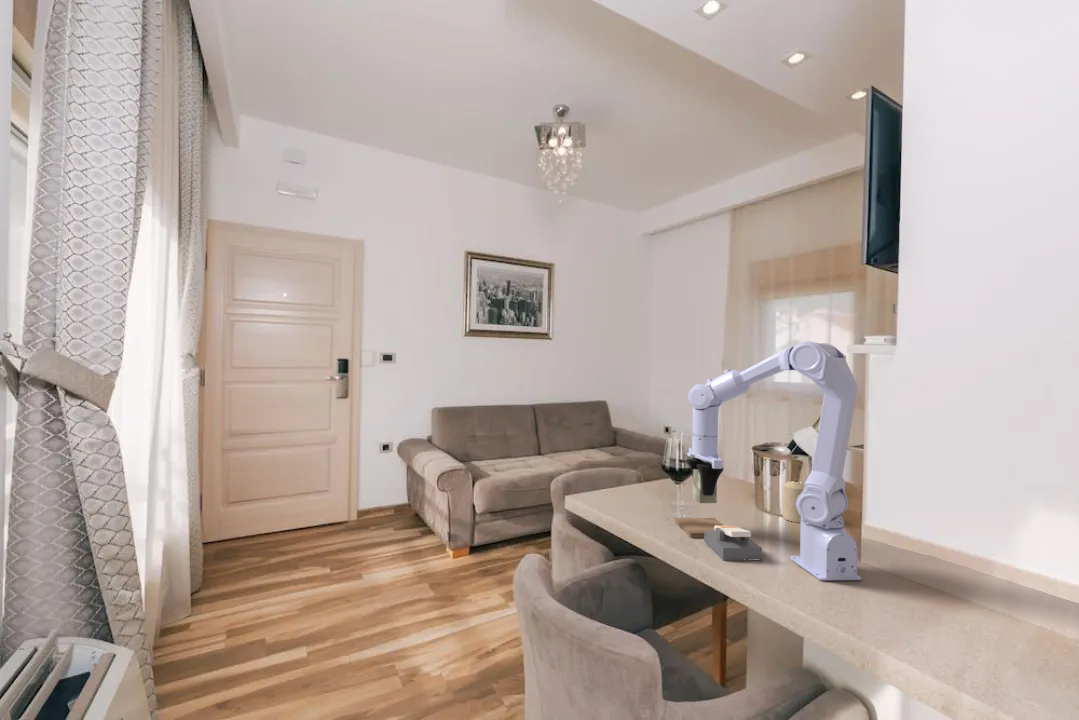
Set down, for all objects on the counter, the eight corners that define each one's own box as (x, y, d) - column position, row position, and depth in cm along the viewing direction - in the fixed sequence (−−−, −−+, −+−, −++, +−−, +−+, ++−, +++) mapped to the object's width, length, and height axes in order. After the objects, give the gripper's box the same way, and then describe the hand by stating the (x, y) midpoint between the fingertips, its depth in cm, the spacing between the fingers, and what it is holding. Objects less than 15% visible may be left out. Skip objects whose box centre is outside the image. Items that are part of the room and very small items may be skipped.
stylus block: (716, 503, 105) (717, 473, 105) (699, 503, 105) (700, 473, 105) (709, 498, 109) (709, 469, 109) (693, 498, 109) (693, 469, 109)
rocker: (751, 536, 91) (750, 531, 91) (731, 536, 91) (731, 531, 91) (732, 530, 99) (731, 525, 99) (714, 530, 99) (714, 525, 99)
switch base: (761, 560, 91) (762, 537, 91) (723, 560, 90) (723, 537, 90) (739, 542, 100) (739, 521, 100) (704, 542, 99) (704, 521, 99)
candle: (805, 524, 112) (806, 484, 112) (780, 519, 115) (781, 480, 115) (808, 518, 116) (808, 480, 116) (784, 514, 119) (784, 476, 119)
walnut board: (733, 537, 102) (733, 533, 102) (690, 537, 102) (690, 533, 102) (714, 522, 112) (714, 518, 112) (675, 522, 112) (675, 518, 112)
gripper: (677, 430, 114) (676, 483, 114) (701, 440, 100) (700, 501, 100) (704, 430, 115) (703, 483, 114) (732, 440, 100) (731, 501, 100)
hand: (703, 492), depth 107 cm, fingers closed on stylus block, 4 cm apart
